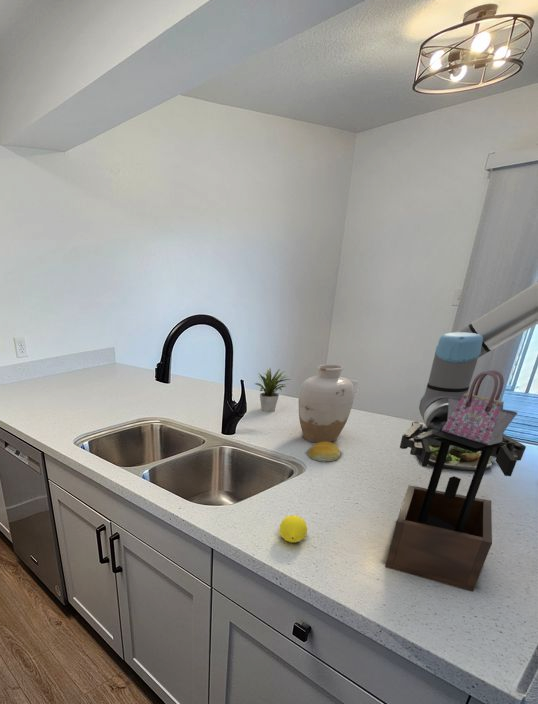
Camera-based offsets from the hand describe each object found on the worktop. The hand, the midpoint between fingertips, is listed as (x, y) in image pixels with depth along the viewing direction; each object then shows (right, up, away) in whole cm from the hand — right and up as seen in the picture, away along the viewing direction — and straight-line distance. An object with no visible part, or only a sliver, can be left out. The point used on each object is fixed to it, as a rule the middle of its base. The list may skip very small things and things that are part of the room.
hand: (467, 463), depth 70 cm
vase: (+6, +13, +71) cm, 72 cm away
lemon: (-21, -15, +20) cm, 33 cm away
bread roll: (+2, +6, +57) cm, 58 cm away
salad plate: (+34, +5, +51) cm, 62 cm away
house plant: (-2, +27, +99) cm, 103 cm away
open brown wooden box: (+3, -17, +13) cm, 21 cm away
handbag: (+3, -13, +11) cm, 17 cm away
